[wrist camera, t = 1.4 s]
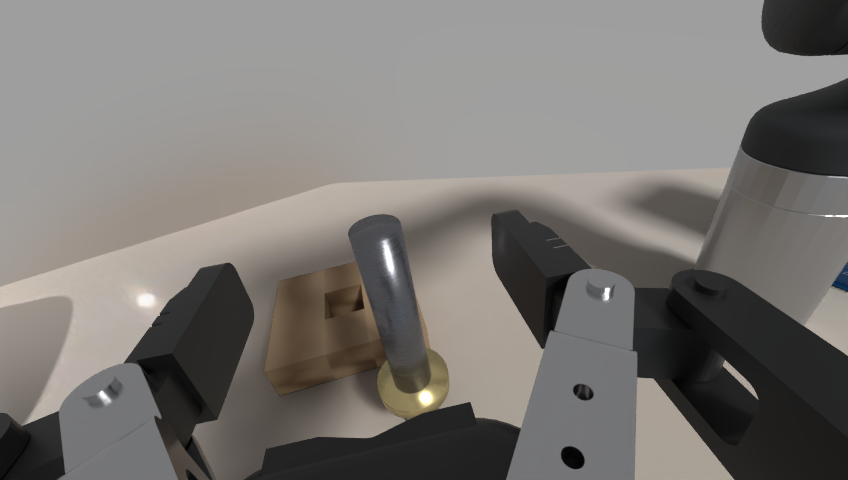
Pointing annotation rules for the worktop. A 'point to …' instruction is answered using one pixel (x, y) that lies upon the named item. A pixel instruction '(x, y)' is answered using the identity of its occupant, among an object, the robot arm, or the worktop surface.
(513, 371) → the worktop surface
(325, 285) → the wooden base block
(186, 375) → the robot arm
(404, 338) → the steel pin
